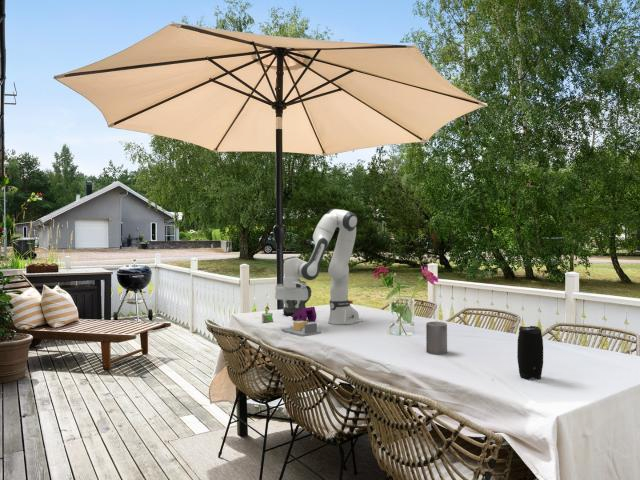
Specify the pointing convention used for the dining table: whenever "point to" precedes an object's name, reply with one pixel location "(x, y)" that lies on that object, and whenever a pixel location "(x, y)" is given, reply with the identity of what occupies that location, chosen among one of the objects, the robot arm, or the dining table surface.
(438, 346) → the pillar candle
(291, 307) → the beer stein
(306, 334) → the backplate
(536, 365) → the portable speaker
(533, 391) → the dining table surface
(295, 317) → the mounting bracket
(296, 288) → the robot arm
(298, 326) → the module
